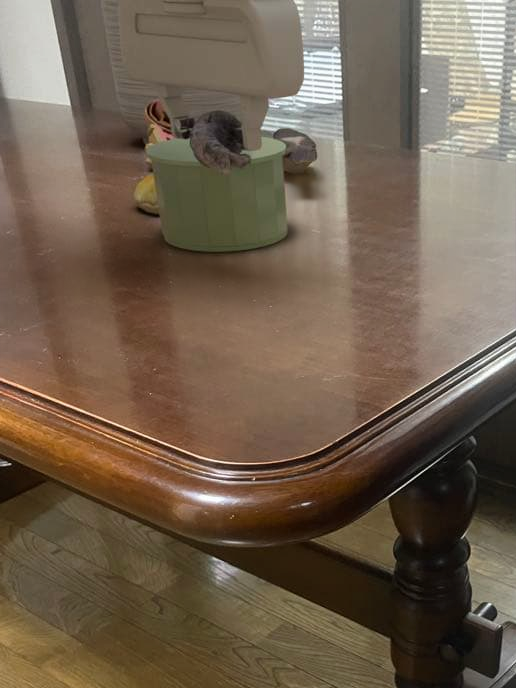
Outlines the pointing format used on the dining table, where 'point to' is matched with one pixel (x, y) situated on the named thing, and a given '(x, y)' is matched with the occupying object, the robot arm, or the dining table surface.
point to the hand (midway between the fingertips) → (216, 143)
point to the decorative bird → (296, 150)
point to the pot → (221, 206)
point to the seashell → (217, 142)
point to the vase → (154, 85)
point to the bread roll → (147, 195)
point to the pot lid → (183, 155)
